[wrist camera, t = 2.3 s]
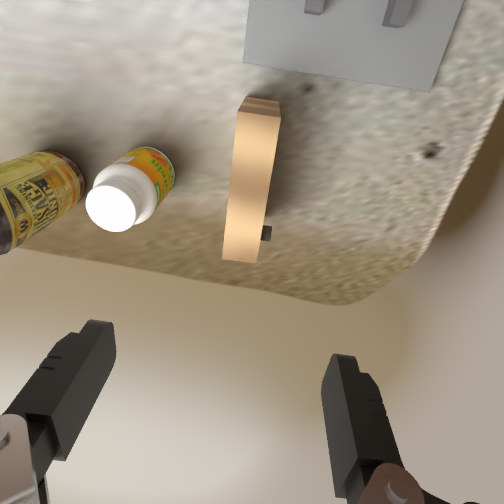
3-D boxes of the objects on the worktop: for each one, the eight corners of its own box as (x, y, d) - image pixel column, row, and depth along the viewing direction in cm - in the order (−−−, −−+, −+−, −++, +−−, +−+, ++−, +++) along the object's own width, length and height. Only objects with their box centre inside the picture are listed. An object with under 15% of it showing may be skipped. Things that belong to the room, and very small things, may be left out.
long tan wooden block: (268, 220, 37) (267, 265, 29) (232, 215, 36) (222, 258, 29) (289, 103, 30) (295, 120, 23) (246, 96, 30) (237, 111, 23)
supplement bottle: (183, 189, 35) (156, 231, 27) (138, 201, 36) (98, 246, 28) (162, 138, 33) (125, 168, 24) (114, 153, 34) (62, 186, 25)
